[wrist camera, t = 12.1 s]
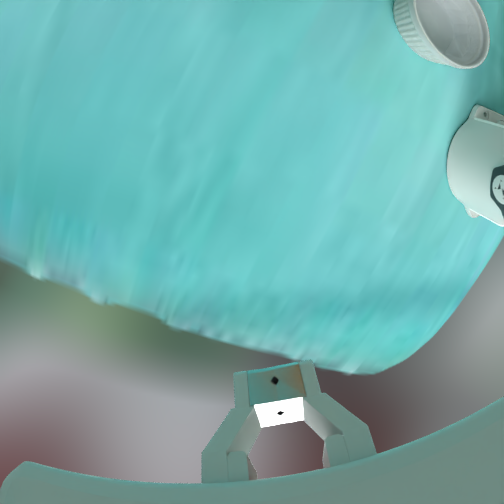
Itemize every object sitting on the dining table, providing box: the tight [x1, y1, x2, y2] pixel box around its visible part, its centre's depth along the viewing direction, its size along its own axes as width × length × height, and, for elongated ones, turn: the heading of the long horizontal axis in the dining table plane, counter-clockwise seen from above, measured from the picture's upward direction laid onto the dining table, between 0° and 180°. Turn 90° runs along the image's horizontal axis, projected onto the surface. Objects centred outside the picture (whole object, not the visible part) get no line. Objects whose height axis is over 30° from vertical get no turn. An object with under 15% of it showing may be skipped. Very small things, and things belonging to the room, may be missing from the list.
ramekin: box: [393, 0, 490, 69], centre depth 24 cm, size 13×13×7 cm
